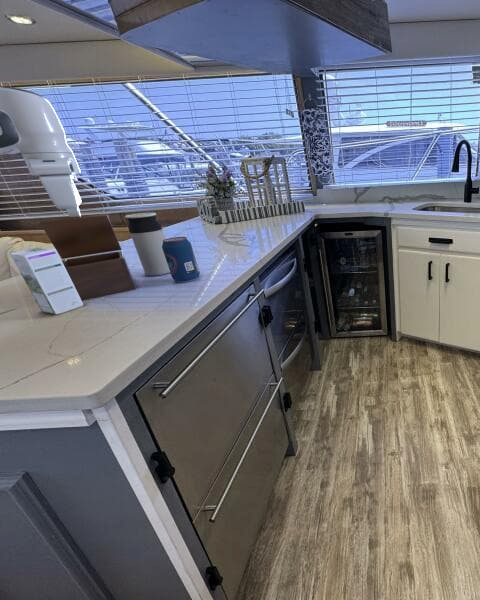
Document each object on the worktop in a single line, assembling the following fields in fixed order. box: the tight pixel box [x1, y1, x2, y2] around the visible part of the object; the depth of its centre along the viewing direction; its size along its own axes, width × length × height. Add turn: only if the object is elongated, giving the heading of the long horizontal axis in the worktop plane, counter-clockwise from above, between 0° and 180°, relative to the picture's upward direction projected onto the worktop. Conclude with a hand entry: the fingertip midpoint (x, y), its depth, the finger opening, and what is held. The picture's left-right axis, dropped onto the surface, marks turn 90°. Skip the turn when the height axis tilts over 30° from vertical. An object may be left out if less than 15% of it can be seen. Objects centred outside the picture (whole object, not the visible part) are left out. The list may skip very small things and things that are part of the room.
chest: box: [61, 250, 136, 301], centre depth 87 cm, size 12×13×9 cm
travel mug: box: [124, 212, 171, 277], centre depth 98 cm, size 8×8×18 cm
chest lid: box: [38, 213, 123, 260], centre depth 85 cm, size 12×13×1 cm
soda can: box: [162, 236, 201, 284], centre depth 92 cm, size 7×7×12 cm
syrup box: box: [9, 247, 84, 315], centre depth 74 cm, size 6×6×14 cm
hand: (79, 224), depth 83 cm, fingers closed
